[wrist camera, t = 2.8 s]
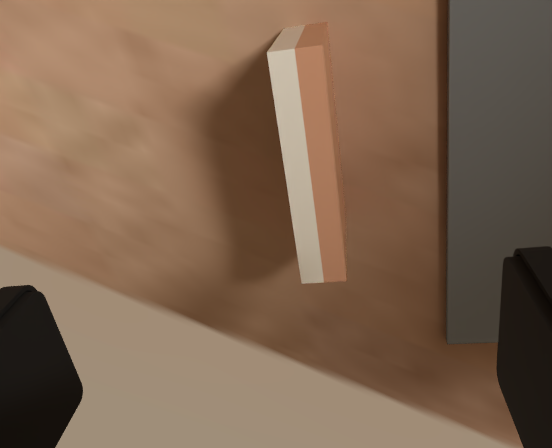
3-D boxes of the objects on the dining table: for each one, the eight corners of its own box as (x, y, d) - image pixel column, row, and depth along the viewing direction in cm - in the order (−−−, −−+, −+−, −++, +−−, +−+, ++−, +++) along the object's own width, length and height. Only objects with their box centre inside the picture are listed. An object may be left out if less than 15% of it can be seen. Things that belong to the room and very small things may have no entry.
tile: (284, 27, 19) (266, 52, 15) (327, 21, 19) (322, 44, 14) (309, 218, 23) (301, 283, 18) (346, 215, 22) (346, 281, 18)
